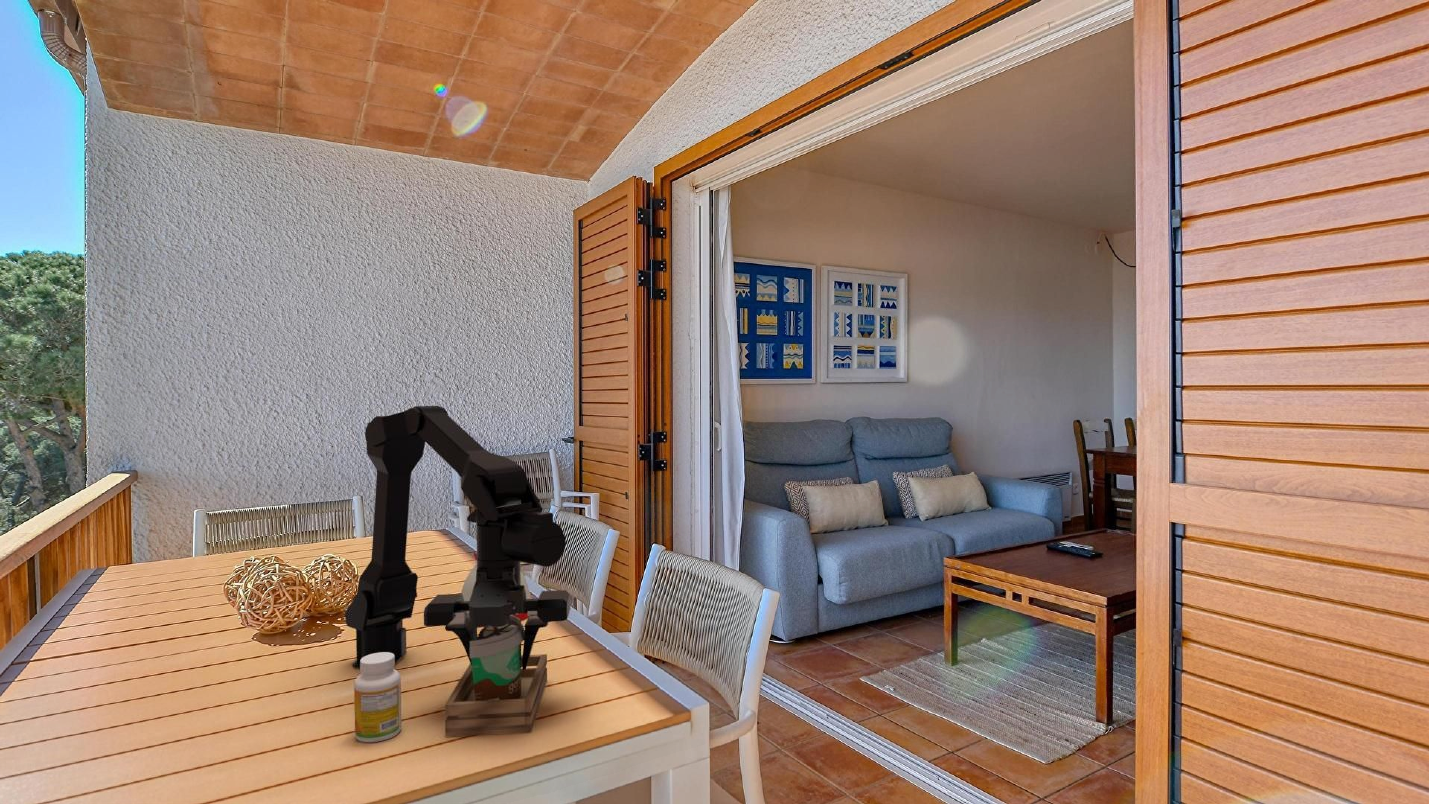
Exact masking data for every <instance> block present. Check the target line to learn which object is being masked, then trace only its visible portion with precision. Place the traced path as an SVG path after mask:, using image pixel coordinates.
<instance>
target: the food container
mask: <svg viewBox="0 0 1429 804" xmlns="http://www.w3.org/2000/svg"><path fill="white" fill-rule="evenodd" d="M477 636H478V637H477V640H476V641H470V658H471V662H472V672H473V683H474V693H475V701H487V700H508V699H519V698H520V696H521V669H522V667H521V655H522V643H524V637H525V626H524V624H523V623H522V621H520V619H519V618H517V617H515V616H511V615H510V620H509V623H508V624H507V625H505V626H502V627H496V626H485V627H482V628H481V629H480V631H479V633H478V634H477Z"/></svg>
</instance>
